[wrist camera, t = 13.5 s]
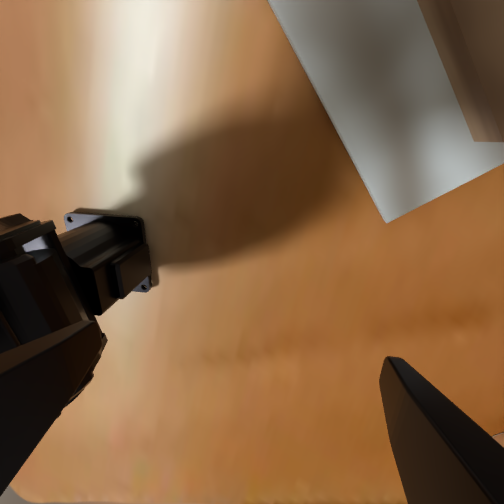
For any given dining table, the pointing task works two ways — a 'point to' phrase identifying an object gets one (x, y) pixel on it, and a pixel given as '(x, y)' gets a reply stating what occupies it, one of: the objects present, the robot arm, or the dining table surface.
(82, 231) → the robot arm
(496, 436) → the small box
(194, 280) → the dining table surface
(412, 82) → the plinth
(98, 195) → the dining table surface
